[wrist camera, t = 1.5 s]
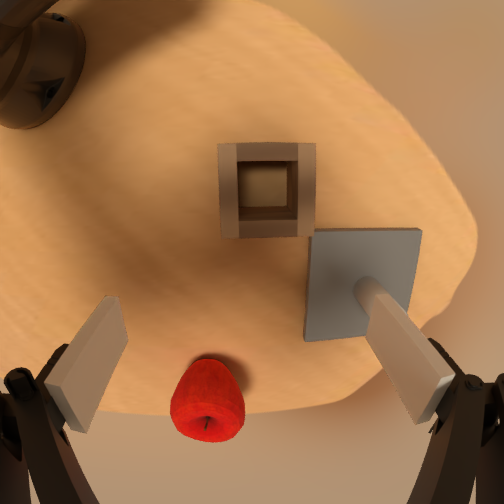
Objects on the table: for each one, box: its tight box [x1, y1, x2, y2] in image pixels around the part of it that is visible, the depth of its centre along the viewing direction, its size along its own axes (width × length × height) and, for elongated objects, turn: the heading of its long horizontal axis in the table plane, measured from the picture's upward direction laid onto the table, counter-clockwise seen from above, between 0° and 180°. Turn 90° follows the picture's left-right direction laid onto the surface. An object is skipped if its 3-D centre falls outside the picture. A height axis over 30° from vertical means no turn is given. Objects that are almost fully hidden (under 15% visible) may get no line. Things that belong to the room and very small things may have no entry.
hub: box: [217, 142, 316, 239], centre depth 27 cm, size 8×8×6 cm
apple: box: [170, 359, 245, 442], centre depth 32 cm, size 9×9×11 cm
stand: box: [303, 228, 422, 342], centre depth 30 cm, size 14×14×9 cm
